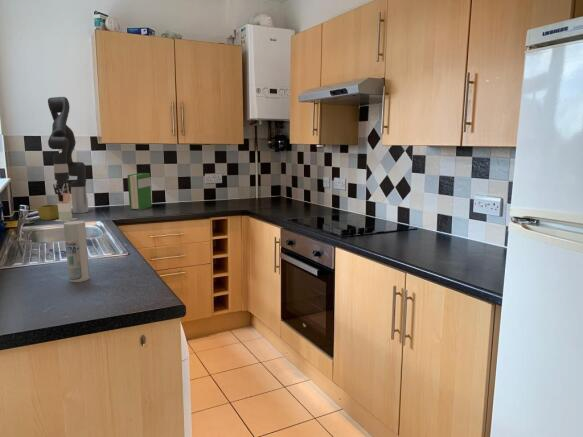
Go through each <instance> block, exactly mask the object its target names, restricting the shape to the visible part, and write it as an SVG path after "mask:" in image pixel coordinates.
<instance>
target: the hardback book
mask: <svg viewBox="0 0 583 437" xmlns="http://www.w3.org/2000/svg"><path fill="white" fill-rule="evenodd" d="M127 185H128V186H127V189H128V201H129V203H128V204H129V205H128V206H129V211H132V210H138V211H141V210H145V209H149V208H151V207H152V187H151V186H152V185H151V173H149V172H148V173H147V172H140V173H139V172H138V173H133V174H132V173H131V174H127Z"/></svg>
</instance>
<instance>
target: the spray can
mask: <svg viewBox="0 0 583 437" xmlns="http://www.w3.org/2000/svg"><path fill="white" fill-rule="evenodd" d="M63 230H64V232H63V233H64V240H65V249H66V259H67V261H66V262H67V272H68V280H69V282H71V283H82V282H86V281H88V280H89V279H90V270H89V269H90V268H89V255H88V245H87V231H86V230H87V229H86V221H84V220H71V221H64V223H63Z"/></svg>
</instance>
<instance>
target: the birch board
mask: <svg viewBox="0 0 583 437" xmlns="http://www.w3.org/2000/svg"><path fill="white" fill-rule="evenodd" d="M77 219H79V218H78V217H72V219H70V220H59V218H57V219H53V222H70V221H76V220H77Z"/></svg>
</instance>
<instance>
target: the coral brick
mask: <svg viewBox="0 0 583 437" xmlns="http://www.w3.org/2000/svg"><path fill="white" fill-rule="evenodd" d="M62 195H63V201H59V198H58V195H57V194H56V200H57V203H62V202H72V198H71V192H69V193H64V192H63V194H62Z"/></svg>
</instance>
